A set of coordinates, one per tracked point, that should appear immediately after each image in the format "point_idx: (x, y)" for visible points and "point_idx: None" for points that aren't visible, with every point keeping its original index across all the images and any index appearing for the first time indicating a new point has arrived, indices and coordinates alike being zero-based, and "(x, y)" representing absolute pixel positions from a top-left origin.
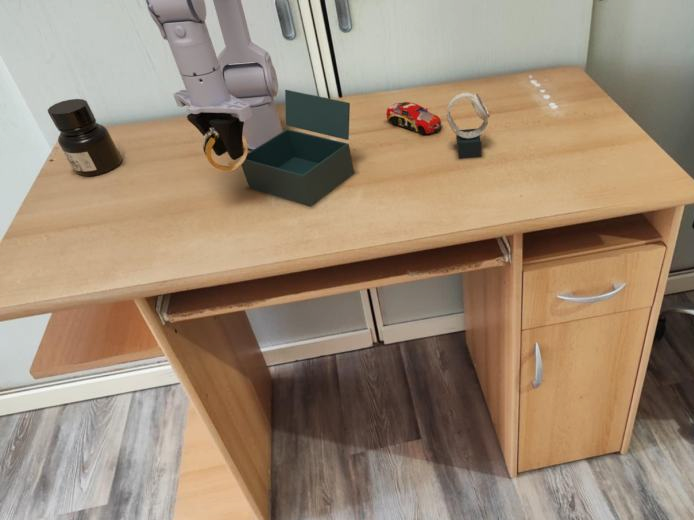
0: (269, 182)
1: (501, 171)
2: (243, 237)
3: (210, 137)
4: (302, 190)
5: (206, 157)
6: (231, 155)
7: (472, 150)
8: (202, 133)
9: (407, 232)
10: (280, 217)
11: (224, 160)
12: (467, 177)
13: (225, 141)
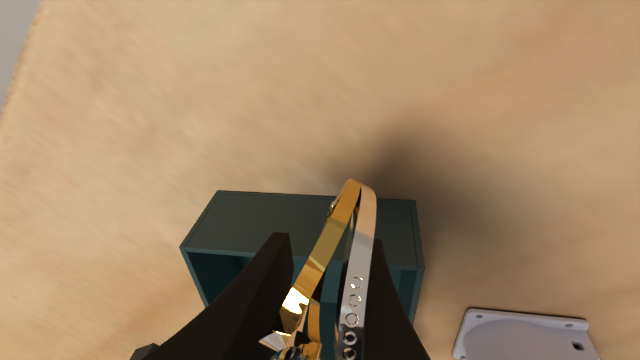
0: (324, 220)
1: (86, 330)
2: (239, 10)
3: (365, 316)
4: (213, 216)
5: (359, 200)
6: (266, 245)
7: (135, 358)
8: (404, 335)
9: (9, 186)
10: (238, 133)
11: (578, 271)
12: (102, 314)
13: (227, 303)
